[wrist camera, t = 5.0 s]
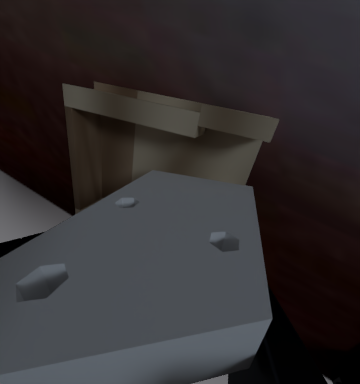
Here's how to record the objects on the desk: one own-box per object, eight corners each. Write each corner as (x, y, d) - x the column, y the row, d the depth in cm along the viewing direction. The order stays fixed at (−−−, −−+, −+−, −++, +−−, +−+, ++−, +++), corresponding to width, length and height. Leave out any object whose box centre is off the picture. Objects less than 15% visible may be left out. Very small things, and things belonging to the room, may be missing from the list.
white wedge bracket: (60, 169, 9) (-317, 440, 2) (228, 170, 11) (405, 291, 4) (73, 224, 11) (-94, 501, 3) (219, 216, 13) (333, 370, 5)
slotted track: (269, 117, 10) (280, 116, 7) (217, 249, 15) (212, 282, 12) (104, 84, 13) (61, 73, 10) (105, 206, 18) (76, 224, 15)
